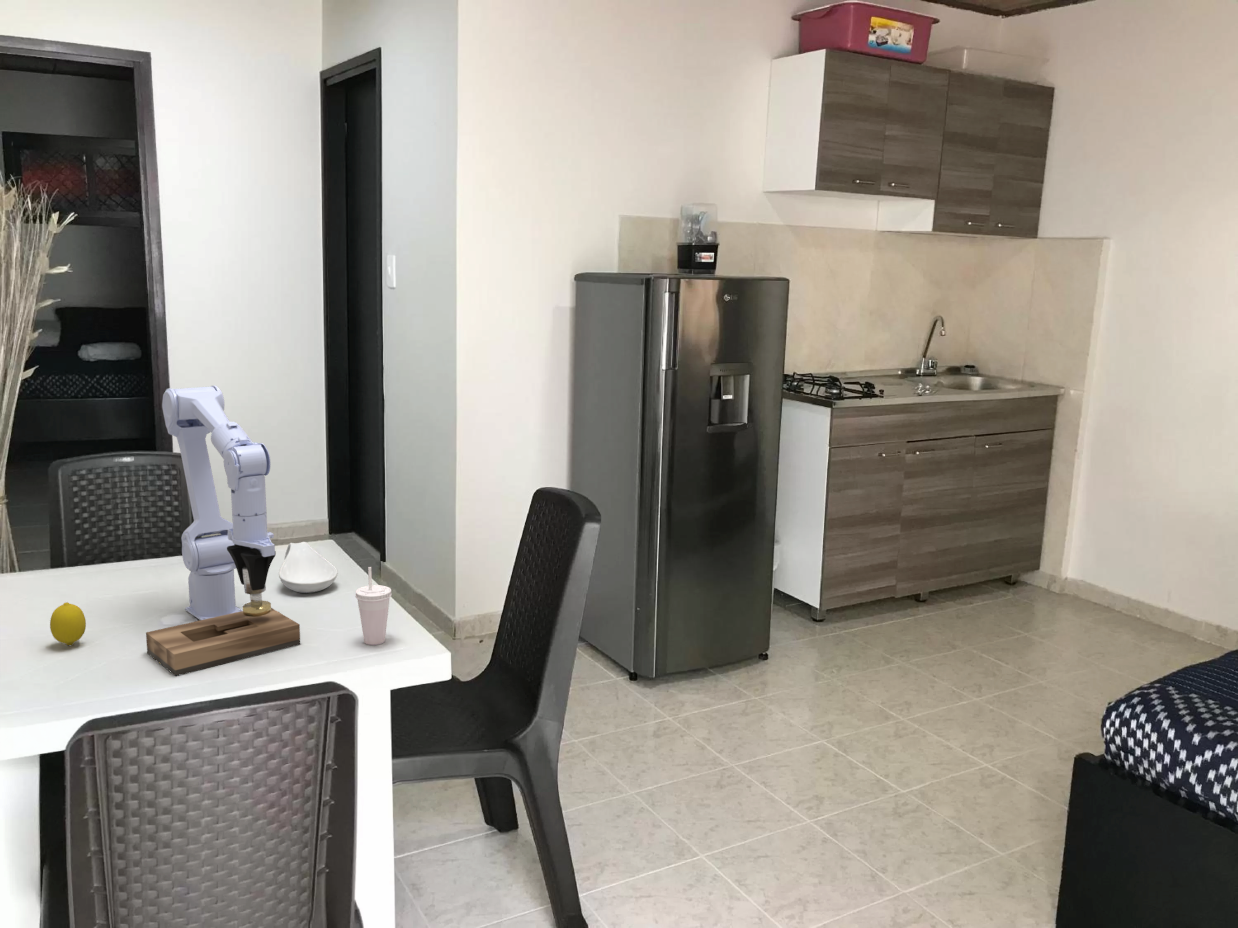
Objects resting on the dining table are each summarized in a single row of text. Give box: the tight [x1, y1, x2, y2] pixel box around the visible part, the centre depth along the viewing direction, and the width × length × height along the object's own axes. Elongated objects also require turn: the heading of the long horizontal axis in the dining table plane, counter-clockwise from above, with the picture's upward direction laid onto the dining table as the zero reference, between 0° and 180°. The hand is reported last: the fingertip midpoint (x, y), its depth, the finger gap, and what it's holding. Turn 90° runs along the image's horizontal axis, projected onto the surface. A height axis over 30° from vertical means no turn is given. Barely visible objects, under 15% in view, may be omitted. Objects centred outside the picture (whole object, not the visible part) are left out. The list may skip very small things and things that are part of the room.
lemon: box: [49, 601, 87, 646], centre depth 179 cm, size 6×6×8 cm
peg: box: [242, 566, 272, 617], centre depth 183 cm, size 5×5×8 cm
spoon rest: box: [278, 541, 339, 594], centre depth 218 cm, size 24×12×7 cm, turn 28°
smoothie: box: [355, 566, 392, 646], centre depth 184 cm, size 6×6×14 cm
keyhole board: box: [145, 607, 301, 676], centre depth 180 cm, size 13×22×4 cm, turn 133°
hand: (252, 586), depth 182 cm, fingers closed on peg, 4 cm apart
